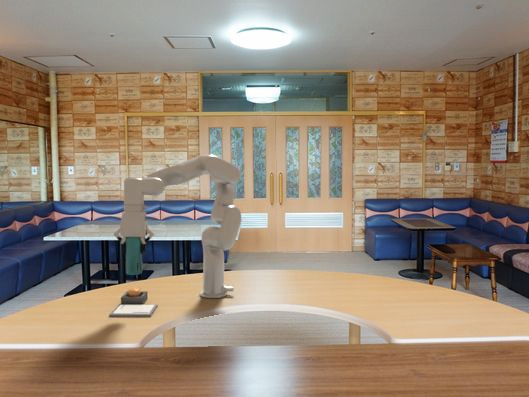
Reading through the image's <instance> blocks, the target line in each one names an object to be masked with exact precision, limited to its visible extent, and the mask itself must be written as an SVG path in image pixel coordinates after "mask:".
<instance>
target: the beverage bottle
mask: <svg viewBox="0 0 529 397" xmlns="http://www.w3.org/2000/svg"><path fill="white" fill-rule="evenodd" d="M141 244H142V241H141V239H140V237H127V238H126V253H125V274H126V275H129V276H136V275H141V274H142V273H143V254H141Z"/></svg>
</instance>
